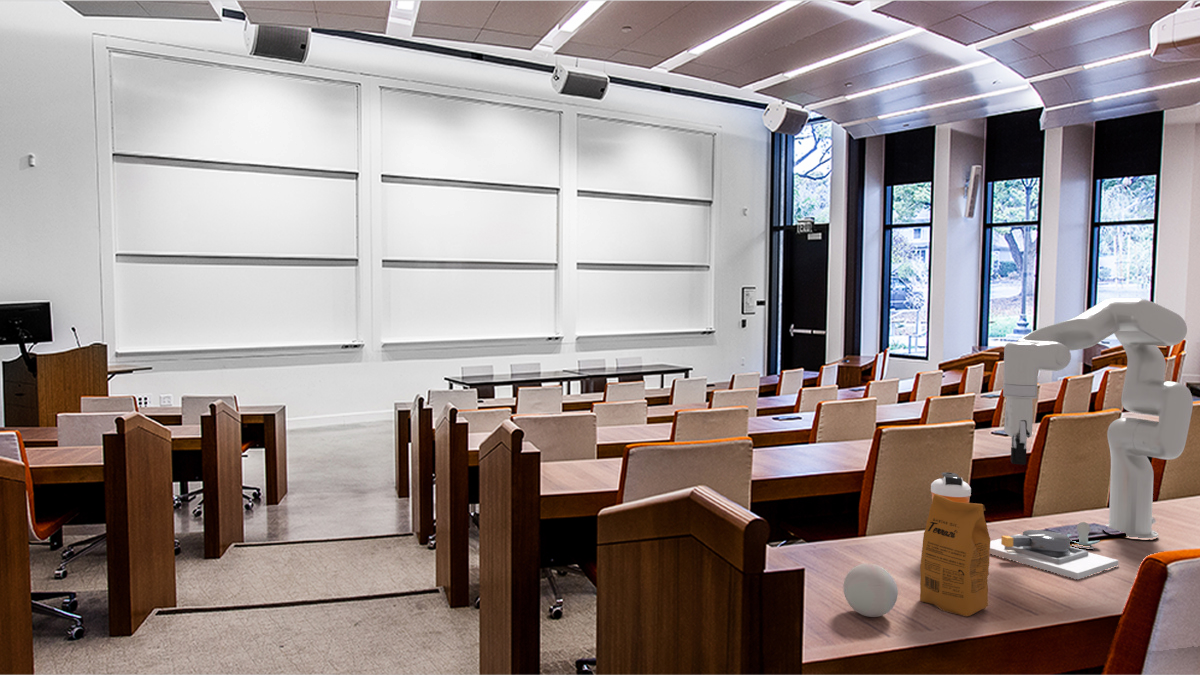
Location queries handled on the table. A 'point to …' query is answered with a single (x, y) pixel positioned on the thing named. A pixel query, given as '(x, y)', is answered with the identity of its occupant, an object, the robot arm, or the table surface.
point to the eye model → (870, 590)
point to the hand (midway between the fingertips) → (1018, 463)
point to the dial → (1040, 542)
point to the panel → (1056, 560)
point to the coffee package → (955, 557)
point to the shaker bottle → (951, 488)
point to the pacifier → (1083, 536)
